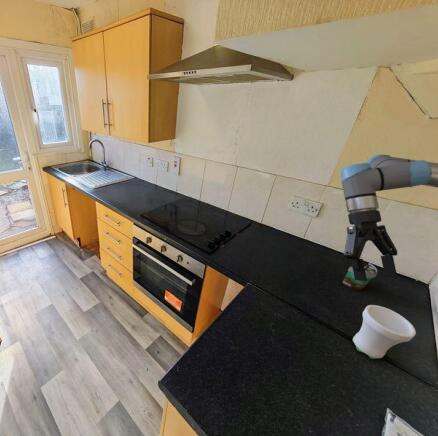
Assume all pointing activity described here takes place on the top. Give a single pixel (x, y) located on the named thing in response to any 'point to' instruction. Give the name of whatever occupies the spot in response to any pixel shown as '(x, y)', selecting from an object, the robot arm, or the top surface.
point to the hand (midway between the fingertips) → (376, 278)
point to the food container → (357, 284)
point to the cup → (382, 331)
